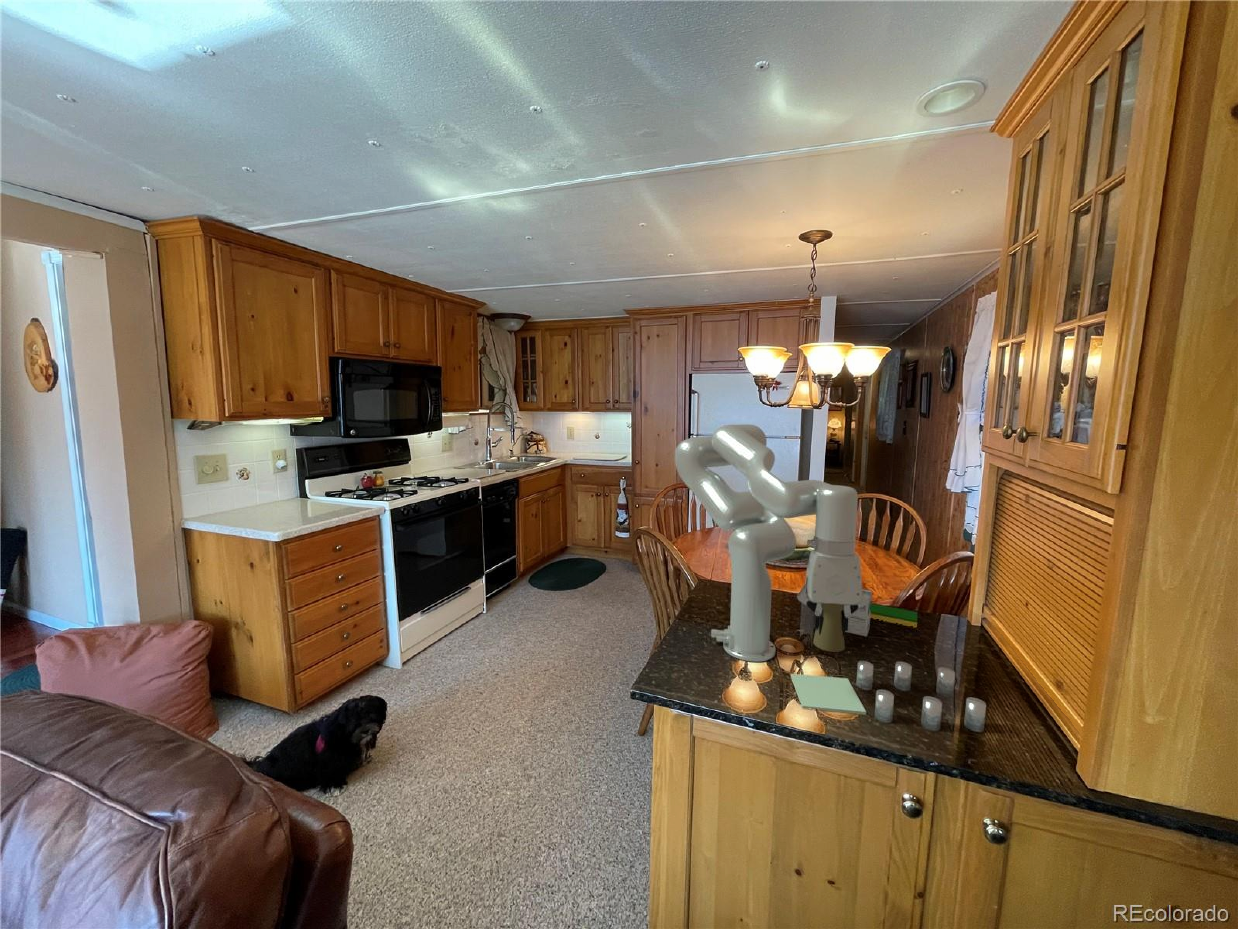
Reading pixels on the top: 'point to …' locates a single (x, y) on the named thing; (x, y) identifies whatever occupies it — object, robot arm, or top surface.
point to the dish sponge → (893, 615)
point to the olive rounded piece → (830, 629)
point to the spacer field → (930, 704)
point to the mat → (827, 694)
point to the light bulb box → (861, 617)
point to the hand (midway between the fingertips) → (830, 631)
